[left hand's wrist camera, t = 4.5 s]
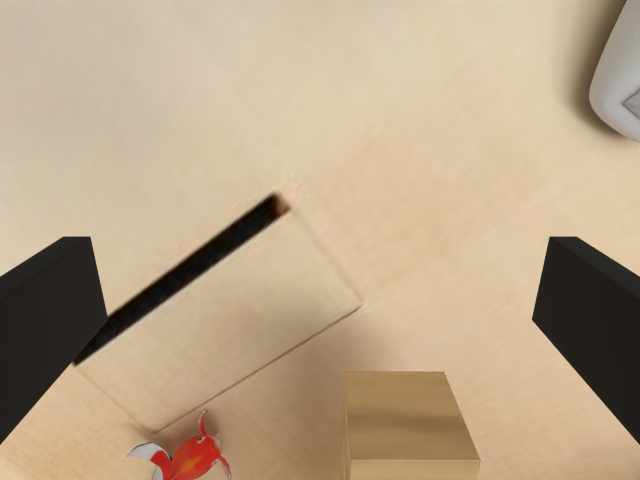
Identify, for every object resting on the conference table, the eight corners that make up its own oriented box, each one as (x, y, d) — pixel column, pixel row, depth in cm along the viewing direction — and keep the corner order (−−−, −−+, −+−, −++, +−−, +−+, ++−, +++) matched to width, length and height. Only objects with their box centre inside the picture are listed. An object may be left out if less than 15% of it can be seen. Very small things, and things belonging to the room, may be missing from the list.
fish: (271, 485, 50) (208, 557, 41) (193, 480, 59) (128, 539, 50) (236, 401, 49) (166, 457, 41) (163, 409, 58) (94, 457, 50)
